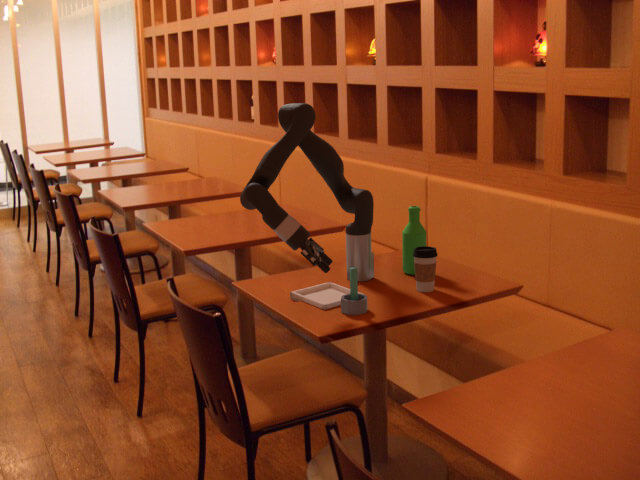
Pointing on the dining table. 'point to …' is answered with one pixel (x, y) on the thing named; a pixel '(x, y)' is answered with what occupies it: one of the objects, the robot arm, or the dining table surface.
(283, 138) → the robot arm
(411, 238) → the bottle
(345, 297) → the cup
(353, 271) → the green rounded rod
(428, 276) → the coffee cup
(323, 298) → the tray
